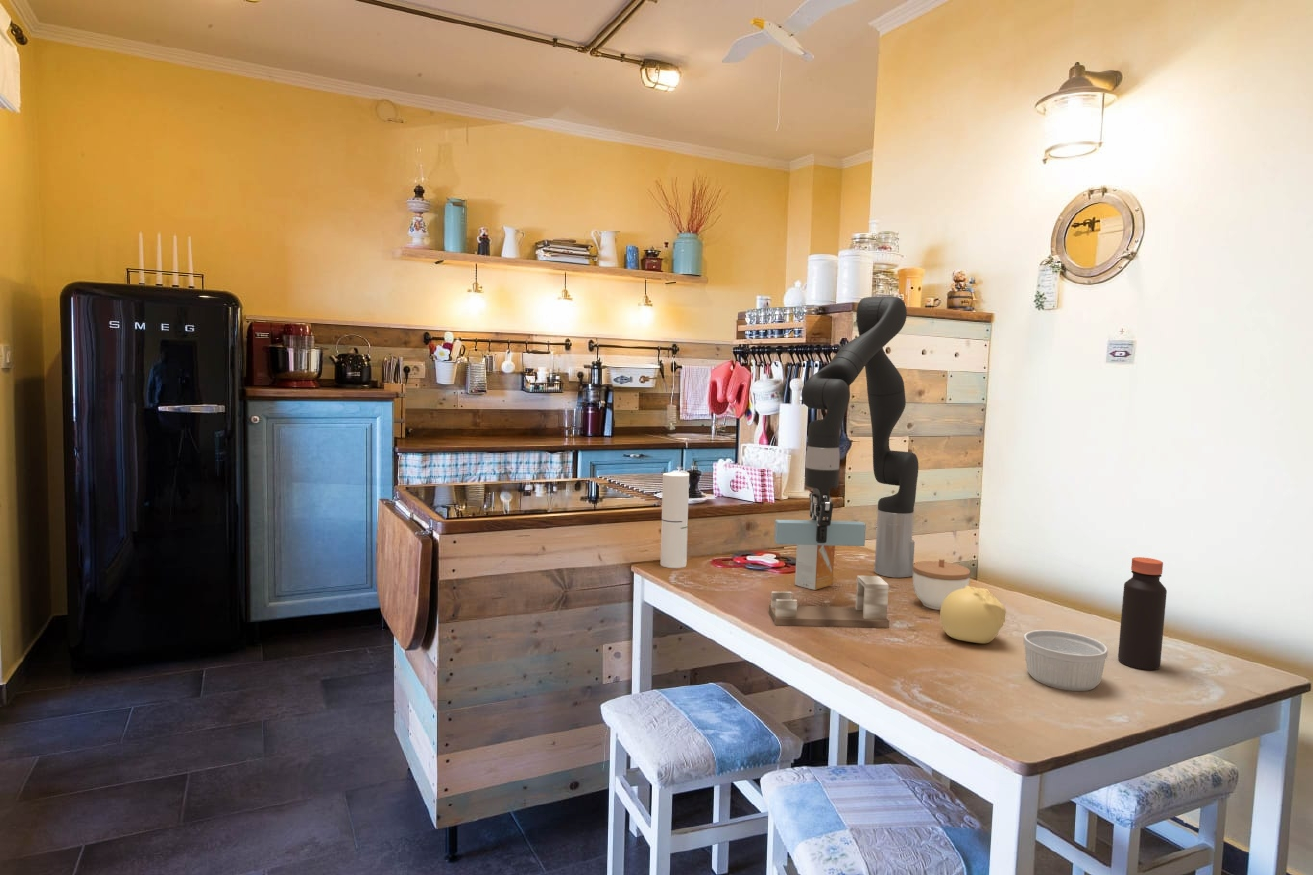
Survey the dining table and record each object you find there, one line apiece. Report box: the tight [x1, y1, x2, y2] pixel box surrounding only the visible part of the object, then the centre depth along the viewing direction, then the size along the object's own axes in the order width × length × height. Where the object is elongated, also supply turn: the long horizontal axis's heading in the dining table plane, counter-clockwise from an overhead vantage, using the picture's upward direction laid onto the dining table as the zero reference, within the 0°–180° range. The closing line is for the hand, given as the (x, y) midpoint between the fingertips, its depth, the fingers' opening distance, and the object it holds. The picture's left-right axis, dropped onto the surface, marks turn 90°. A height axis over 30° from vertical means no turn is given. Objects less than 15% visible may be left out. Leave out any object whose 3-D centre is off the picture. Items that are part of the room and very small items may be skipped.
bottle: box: [1117, 556, 1168, 671], centre depth 143 cm, size 7×7×20 cm
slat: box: [774, 519, 867, 547], centre depth 175 cm, size 20×4×5 cm, turn 91°
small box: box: [794, 545, 836, 591], centre depth 192 cm, size 8×6×13 cm
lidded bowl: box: [912, 558, 971, 611], centre depth 177 cm, size 13×13×11 cm
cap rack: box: [768, 575, 890, 629], centre depth 165 cm, size 24×9×9 cm, turn 91°
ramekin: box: [1022, 629, 1109, 692], centre depth 136 cm, size 13×13×7 cm
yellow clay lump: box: [939, 585, 1007, 644], centre depth 155 cm, size 12×12×11 cm
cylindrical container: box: [660, 472, 690, 569], centre depth 208 cm, size 7×7×25 cm
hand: (819, 540), depth 175 cm, fingers closed on slat, 3 cm apart
